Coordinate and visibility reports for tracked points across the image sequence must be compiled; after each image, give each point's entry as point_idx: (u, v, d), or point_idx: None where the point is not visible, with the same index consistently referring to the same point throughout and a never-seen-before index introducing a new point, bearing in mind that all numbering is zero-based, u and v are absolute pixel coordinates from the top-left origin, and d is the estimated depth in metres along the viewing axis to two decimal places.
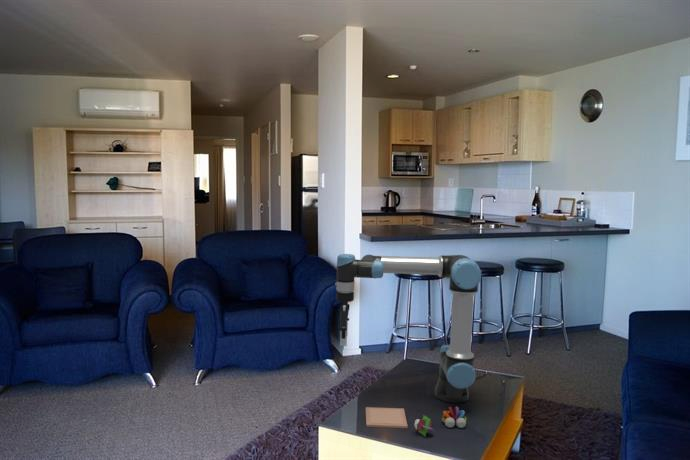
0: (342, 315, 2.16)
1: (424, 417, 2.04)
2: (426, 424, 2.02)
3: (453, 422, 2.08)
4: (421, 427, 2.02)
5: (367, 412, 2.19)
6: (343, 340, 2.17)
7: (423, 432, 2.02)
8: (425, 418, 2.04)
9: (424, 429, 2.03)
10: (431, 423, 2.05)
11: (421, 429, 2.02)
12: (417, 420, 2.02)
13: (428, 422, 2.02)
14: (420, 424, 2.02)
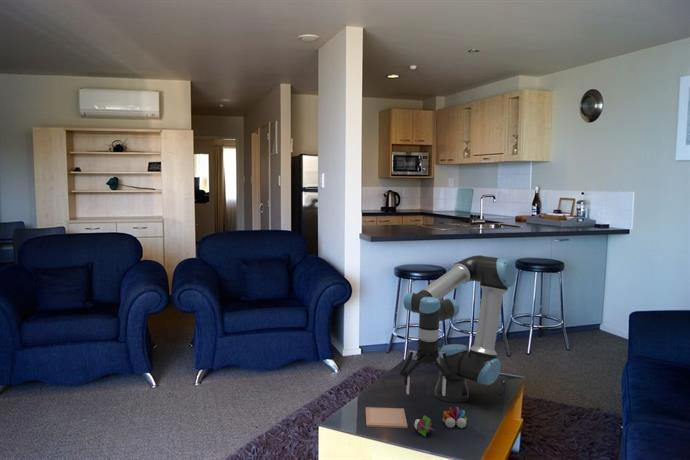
0: (406, 359, 2.01)
1: (424, 417, 2.04)
2: (426, 424, 2.02)
3: (453, 422, 2.08)
4: (421, 427, 2.02)
5: (367, 412, 2.19)
6: (406, 387, 2.02)
7: (423, 432, 2.02)
8: (425, 418, 2.04)
9: (424, 429, 2.03)
10: (431, 423, 2.05)
11: (421, 429, 2.02)
12: (417, 420, 2.02)
13: (428, 422, 2.02)
14: (420, 424, 2.02)
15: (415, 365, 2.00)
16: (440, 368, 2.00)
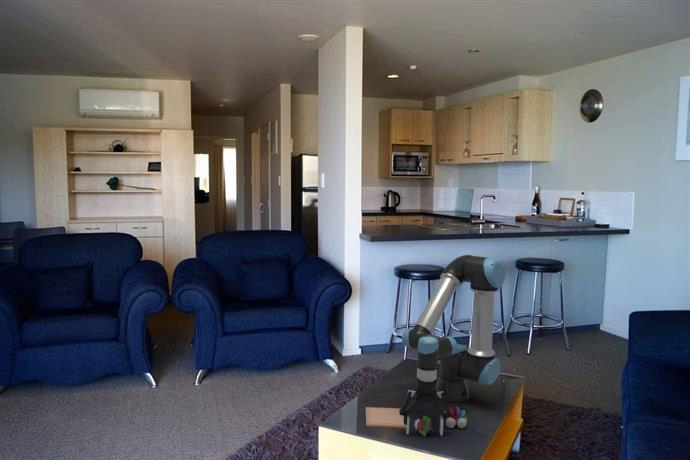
0: (405, 399, 2.03)
1: (424, 417, 2.04)
2: (426, 424, 2.02)
3: (454, 422, 2.08)
4: (421, 427, 2.02)
5: (367, 412, 2.19)
6: (406, 426, 2.03)
7: (423, 432, 2.02)
8: (425, 418, 2.04)
9: (424, 429, 2.03)
10: (431, 423, 2.05)
11: (421, 429, 2.02)
12: (417, 420, 2.02)
13: (428, 422, 2.02)
14: (420, 424, 2.02)
15: (414, 405, 2.01)
16: (438, 408, 2.01)
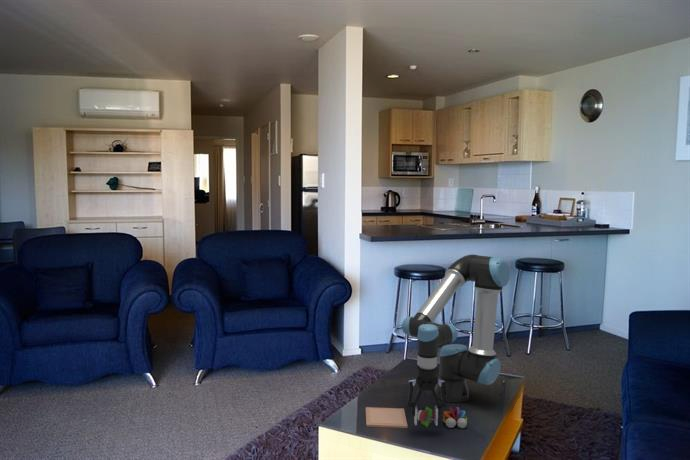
0: (409, 389, 2.03)
1: (426, 408, 2.04)
2: (428, 415, 2.02)
3: (454, 422, 2.08)
4: (423, 418, 2.02)
5: (367, 412, 2.19)
6: (414, 417, 2.03)
7: (426, 423, 2.02)
8: (427, 409, 2.04)
9: (426, 420, 2.03)
10: None
11: (423, 420, 2.02)
12: (419, 411, 2.02)
13: (430, 413, 2.02)
14: (422, 415, 2.02)
15: (418, 394, 2.01)
16: (435, 397, 2.01)
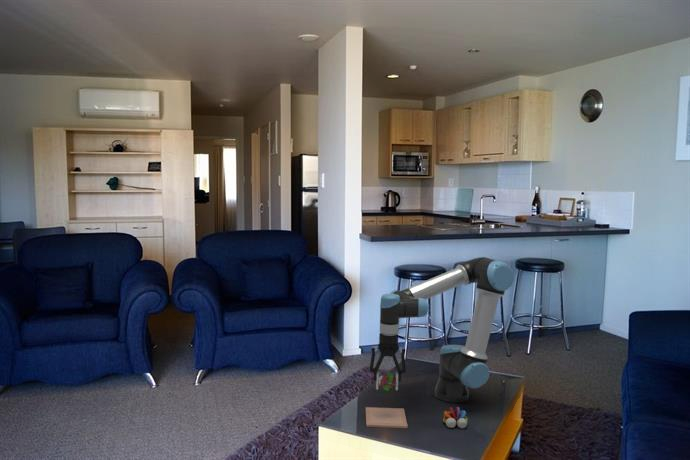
0: None
1: (388, 374, 2.15)
2: (389, 380, 2.13)
3: (454, 422, 2.08)
4: (384, 383, 2.13)
5: (367, 412, 2.19)
6: (376, 382, 2.14)
7: (387, 387, 2.13)
8: (389, 375, 2.15)
9: (387, 385, 2.13)
10: None
11: (384, 385, 2.13)
12: (381, 376, 2.13)
13: (391, 378, 2.13)
14: (383, 380, 2.13)
15: (380, 360, 2.12)
16: (396, 362, 2.12)
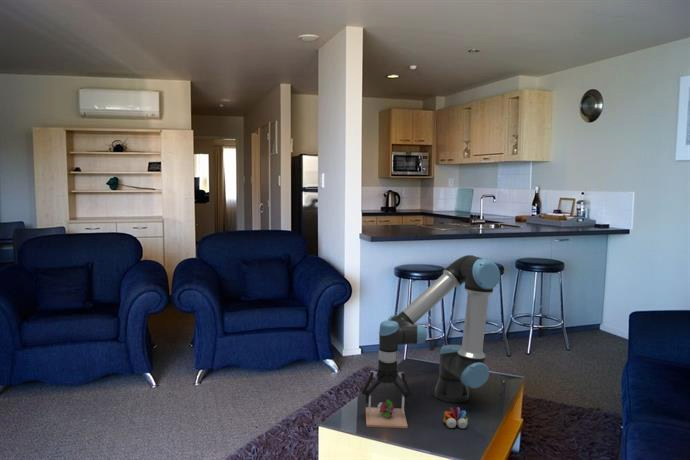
0: (368, 379, 2.15)
1: (387, 401, 2.16)
2: (388, 407, 2.14)
3: (454, 423, 2.08)
4: (384, 410, 2.14)
5: (367, 412, 2.19)
6: None
7: (386, 414, 2.14)
8: (388, 402, 2.16)
9: (386, 412, 2.14)
10: (394, 406, 2.17)
11: (384, 412, 2.14)
12: (380, 403, 2.14)
13: (390, 405, 2.14)
14: (383, 407, 2.14)
15: (376, 384, 2.13)
16: (399, 387, 2.13)
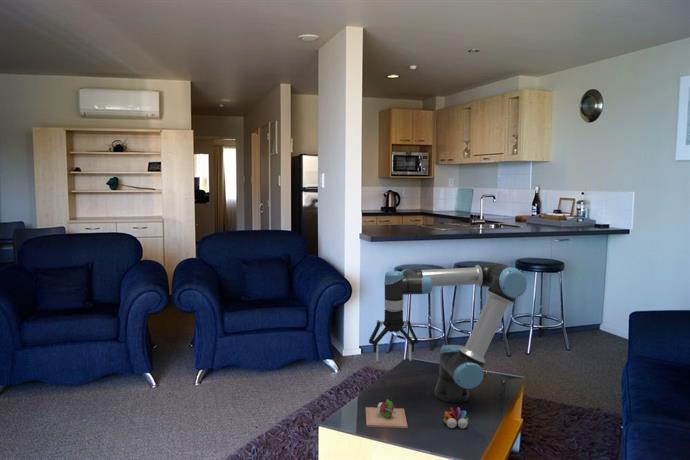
0: (374, 329, 2.19)
1: (387, 401, 2.16)
2: (388, 407, 2.14)
3: (455, 423, 2.07)
4: (384, 410, 2.14)
5: (367, 412, 2.19)
6: (376, 354, 2.19)
7: (386, 414, 2.14)
8: (388, 402, 2.16)
9: (386, 412, 2.14)
10: (394, 406, 2.17)
11: (384, 412, 2.14)
12: (380, 403, 2.14)
13: (390, 405, 2.14)
14: (383, 407, 2.14)
15: (383, 334, 2.17)
16: (406, 335, 2.18)
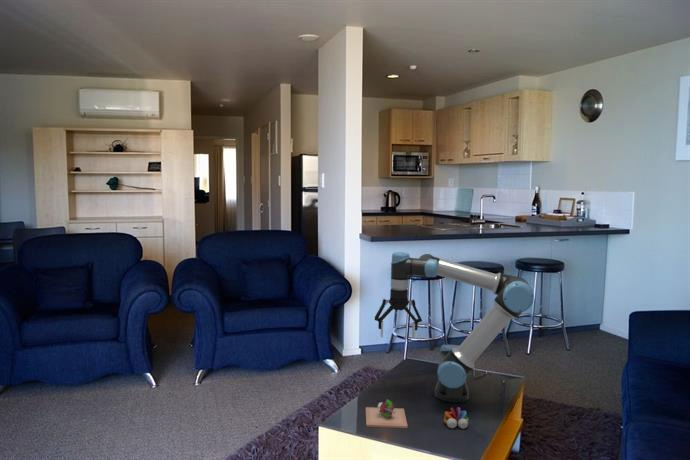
0: None
1: (387, 401, 2.16)
2: (388, 407, 2.14)
3: (455, 423, 2.07)
4: (384, 410, 2.14)
5: (367, 412, 2.19)
6: (381, 331, 2.29)
7: (386, 414, 2.14)
8: (388, 402, 2.16)
9: (386, 412, 2.14)
10: (394, 406, 2.17)
11: (384, 412, 2.14)
12: (380, 403, 2.14)
13: (390, 405, 2.14)
14: (383, 407, 2.14)
15: (388, 311, 2.27)
16: (410, 314, 2.27)
